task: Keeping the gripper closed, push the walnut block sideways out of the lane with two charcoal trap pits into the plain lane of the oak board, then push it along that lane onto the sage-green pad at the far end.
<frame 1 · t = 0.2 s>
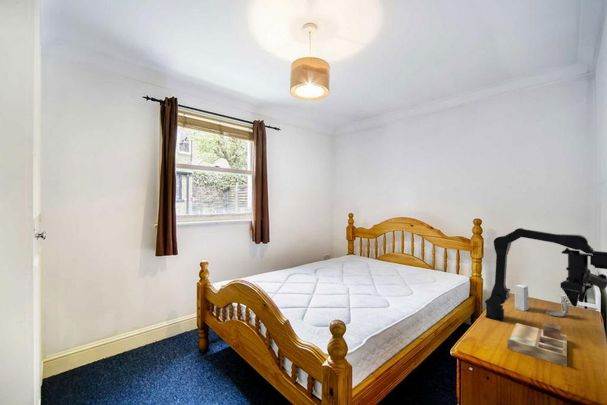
hand: (577, 304, 109), 14 cm above the chest of drawers, tool pointing down, fingers open, 9 cm apart
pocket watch: (558, 315, 133), on the chest of drawers
walnut block: (551, 335, 108), point 2 cm above the chest of drawers, touching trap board
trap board: (538, 343, 105), on the chest of drawers
skincare box: (521, 309, 141), on the chest of drawers
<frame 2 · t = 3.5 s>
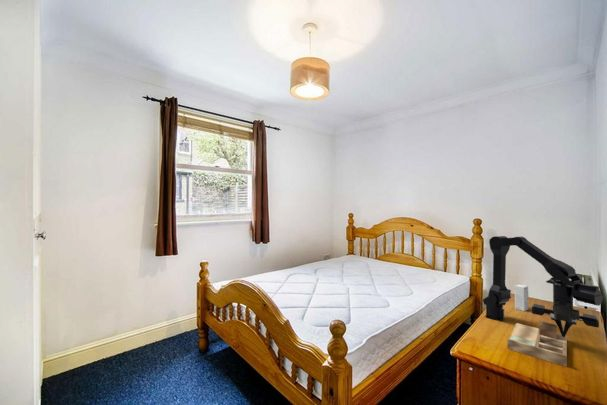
hand: (563, 336, 105), 3 cm above the chest of drawers, tool pointing down, fingers closed
walnut block: (548, 334, 108), point 2 cm above the chest of drawers, touching gripper
everything else where it was.
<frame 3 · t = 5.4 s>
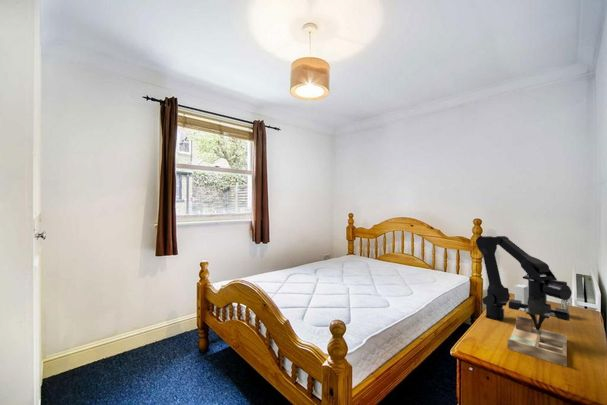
hand: (537, 329, 110), 3 cm above the chest of drawers, tool pointing down, fingers closed
walnut block: (524, 328, 113), point 2 cm above the chest of drawers, touching gripper, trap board
everything else where it was.
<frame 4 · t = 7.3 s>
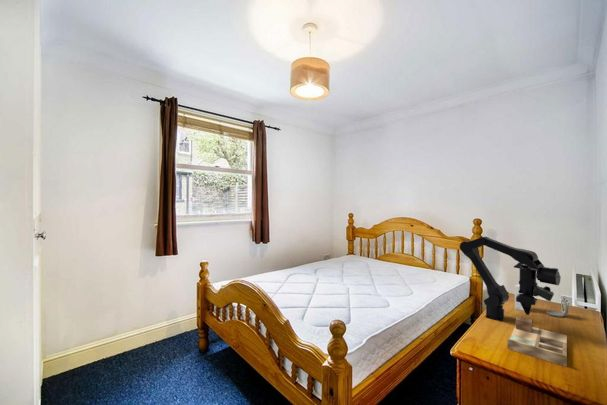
hand: (527, 314, 119), 6 cm above the chest of drawers, tool pointing down, fingers closed
walnut block: (524, 328, 113), point 2 cm above the chest of drawers, touching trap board
everything else where it was.
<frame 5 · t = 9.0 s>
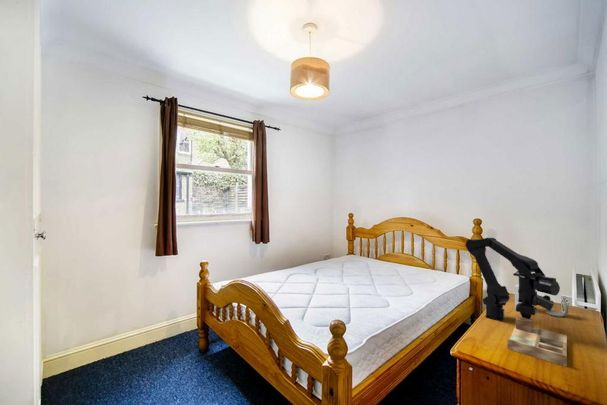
hand: (527, 324, 116), 3 cm above the chest of drawers, tool pointing down, fingers closed
walnut block: (524, 328, 113), point 2 cm above the chest of drawers, touching gripper
everything else where it was.
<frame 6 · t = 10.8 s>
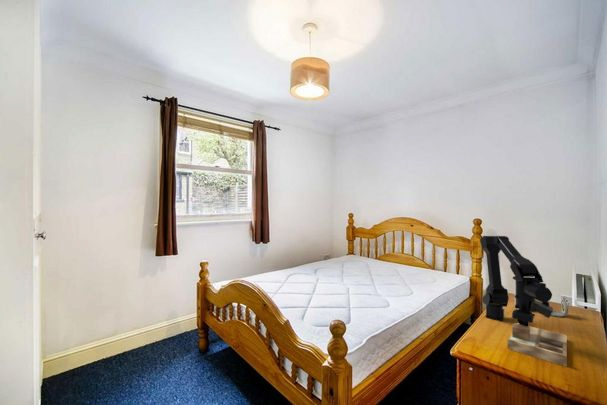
hand: (524, 331, 109), 3 cm above the chest of drawers, tool pointing down, fingers closed
walnut block: (521, 336, 106), point 2 cm above the chest of drawers, touching gripper, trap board
everything else where it was.
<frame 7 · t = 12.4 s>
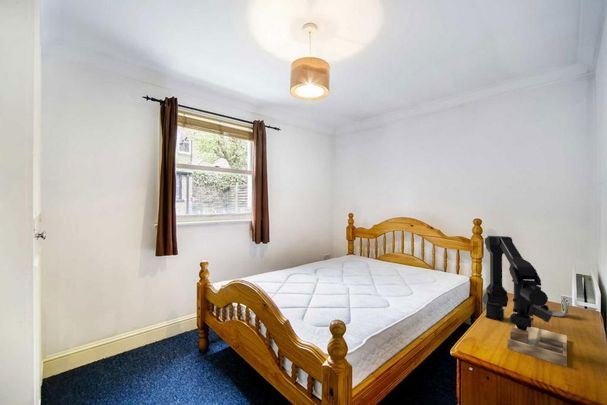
hand: (523, 336, 105), 3 cm above the chest of drawers, tool pointing down, fingers closed
walnut block: (519, 341, 103), point 2 cm above the chest of drawers, touching gripper, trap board
everything else where it was.
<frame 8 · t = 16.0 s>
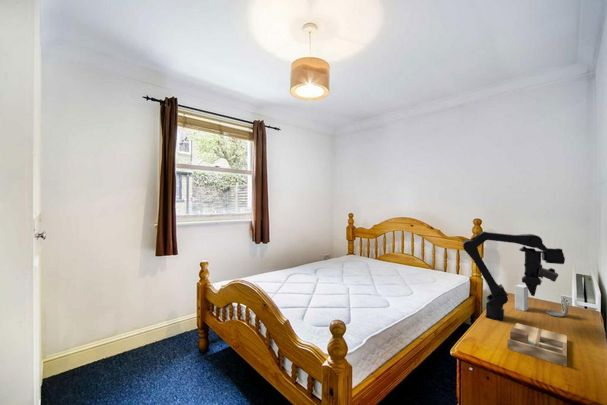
hand: (532, 295, 123), 13 cm above the chest of drawers, tool pointing down, fingers closed
walnut block: (519, 341, 103), point 2 cm above the chest of drawers, touching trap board
everything else where it was.
at the end: walnut block inside the target area (1.0 cm from its centre), point 2.0 cm above the chest of drawers; walnut block tilted 0° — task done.
